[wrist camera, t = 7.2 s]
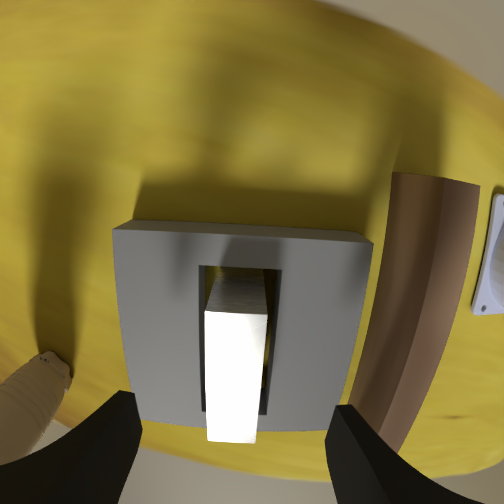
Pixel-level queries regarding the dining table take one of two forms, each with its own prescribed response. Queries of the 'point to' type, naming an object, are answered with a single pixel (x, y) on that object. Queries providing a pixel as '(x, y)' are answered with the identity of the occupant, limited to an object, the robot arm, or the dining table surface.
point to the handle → (30, 404)
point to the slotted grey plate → (283, 318)
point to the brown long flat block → (414, 299)
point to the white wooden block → (234, 353)
